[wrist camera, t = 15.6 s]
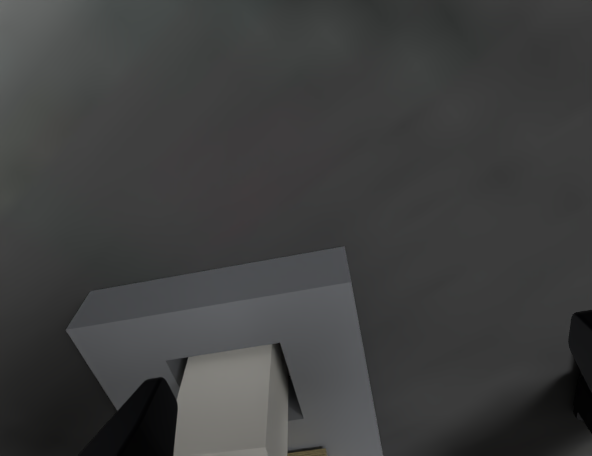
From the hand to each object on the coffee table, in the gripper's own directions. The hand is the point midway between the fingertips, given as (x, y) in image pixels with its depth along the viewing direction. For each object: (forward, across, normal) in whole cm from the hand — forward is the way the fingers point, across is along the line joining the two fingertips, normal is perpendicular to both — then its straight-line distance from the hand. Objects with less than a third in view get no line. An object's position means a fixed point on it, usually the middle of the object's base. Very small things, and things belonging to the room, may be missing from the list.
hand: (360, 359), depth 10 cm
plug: (+12, +7, +11) cm, 18 cm away
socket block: (+12, +7, +15) cm, 20 cm away
